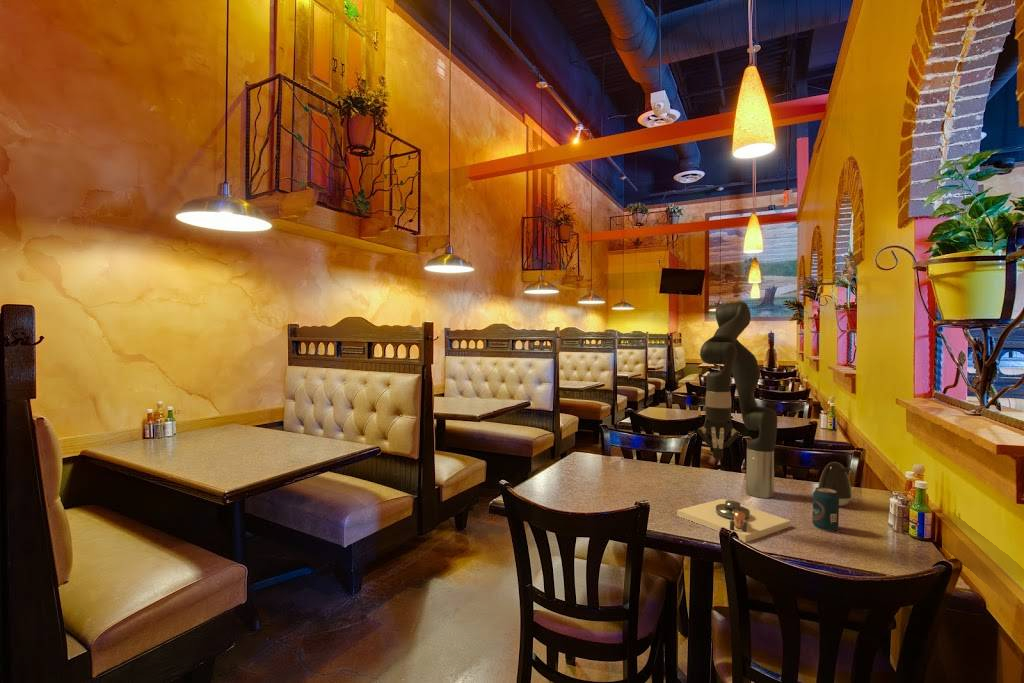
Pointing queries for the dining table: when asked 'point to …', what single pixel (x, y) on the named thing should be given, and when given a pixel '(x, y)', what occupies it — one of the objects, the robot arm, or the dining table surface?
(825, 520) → the soda can
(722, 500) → the base board
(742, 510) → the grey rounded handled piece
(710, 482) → the dining table surface
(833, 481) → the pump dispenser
